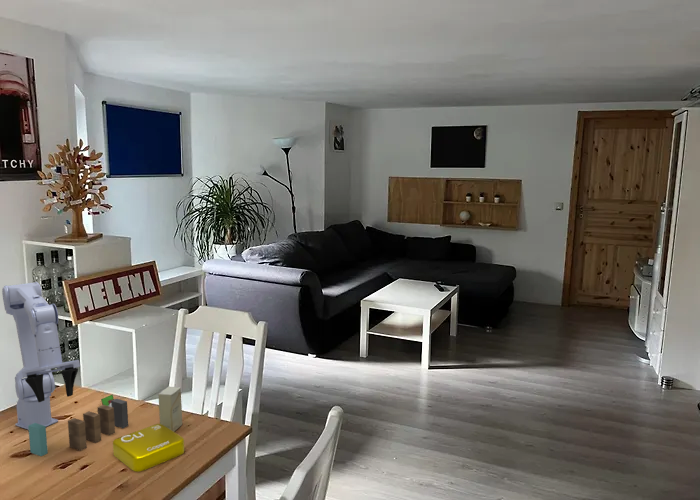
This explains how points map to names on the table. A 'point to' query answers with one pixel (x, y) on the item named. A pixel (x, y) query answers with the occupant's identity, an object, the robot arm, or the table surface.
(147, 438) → the element tile
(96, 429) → the walnut domino
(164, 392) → the skincare box
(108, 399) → the geometric puzzle
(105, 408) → the walnut domino
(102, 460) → the table surface
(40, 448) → the teal domino
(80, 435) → the walnut domino
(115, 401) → the black end domino
